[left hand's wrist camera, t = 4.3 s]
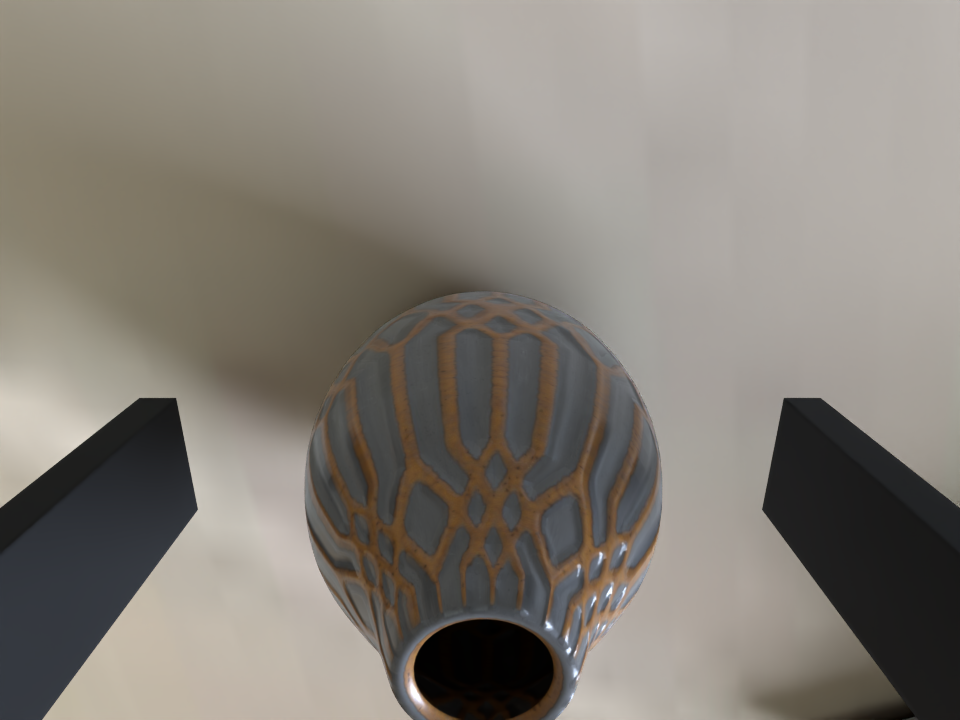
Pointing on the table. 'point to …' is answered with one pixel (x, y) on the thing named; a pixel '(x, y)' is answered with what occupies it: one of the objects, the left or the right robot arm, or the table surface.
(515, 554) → the ribbed bud pot
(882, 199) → the table surface
